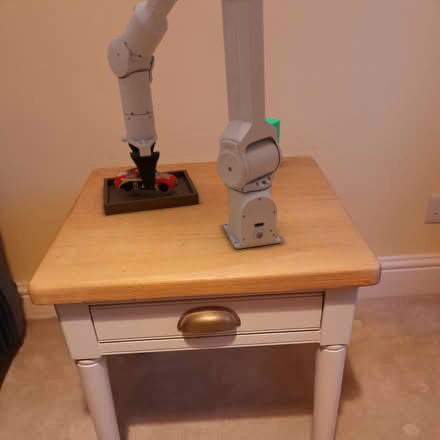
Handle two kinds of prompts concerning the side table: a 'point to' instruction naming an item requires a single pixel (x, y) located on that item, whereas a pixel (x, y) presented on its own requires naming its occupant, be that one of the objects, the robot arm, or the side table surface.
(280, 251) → the side table surface
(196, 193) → the tray
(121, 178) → the race car
